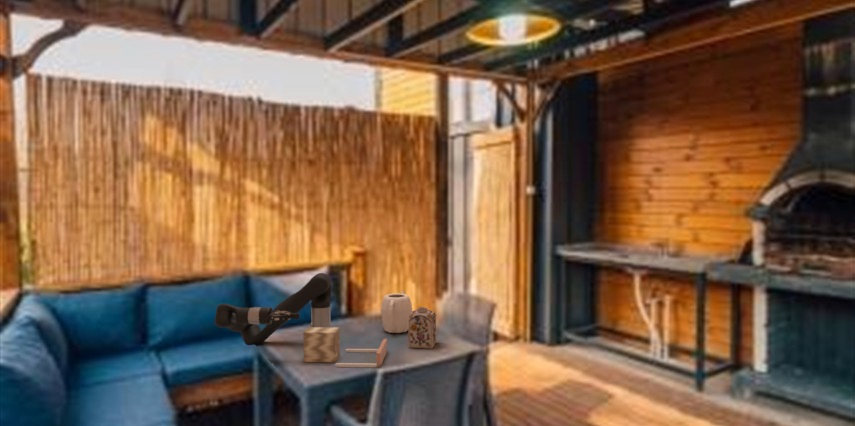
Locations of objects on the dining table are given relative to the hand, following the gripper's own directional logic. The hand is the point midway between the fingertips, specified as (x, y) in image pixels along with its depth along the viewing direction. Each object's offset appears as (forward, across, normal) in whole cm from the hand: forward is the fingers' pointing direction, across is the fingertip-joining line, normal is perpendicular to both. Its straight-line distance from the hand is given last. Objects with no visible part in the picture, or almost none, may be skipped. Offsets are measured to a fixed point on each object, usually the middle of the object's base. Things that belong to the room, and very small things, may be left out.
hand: (299, 316), depth 271 cm
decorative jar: (+53, -23, -19) cm, 61 cm away
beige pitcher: (+39, -50, -19) cm, 66 cm away
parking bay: (+28, 0, -19) cm, 34 cm away
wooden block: (+10, -1, -19) cm, 22 cm away
